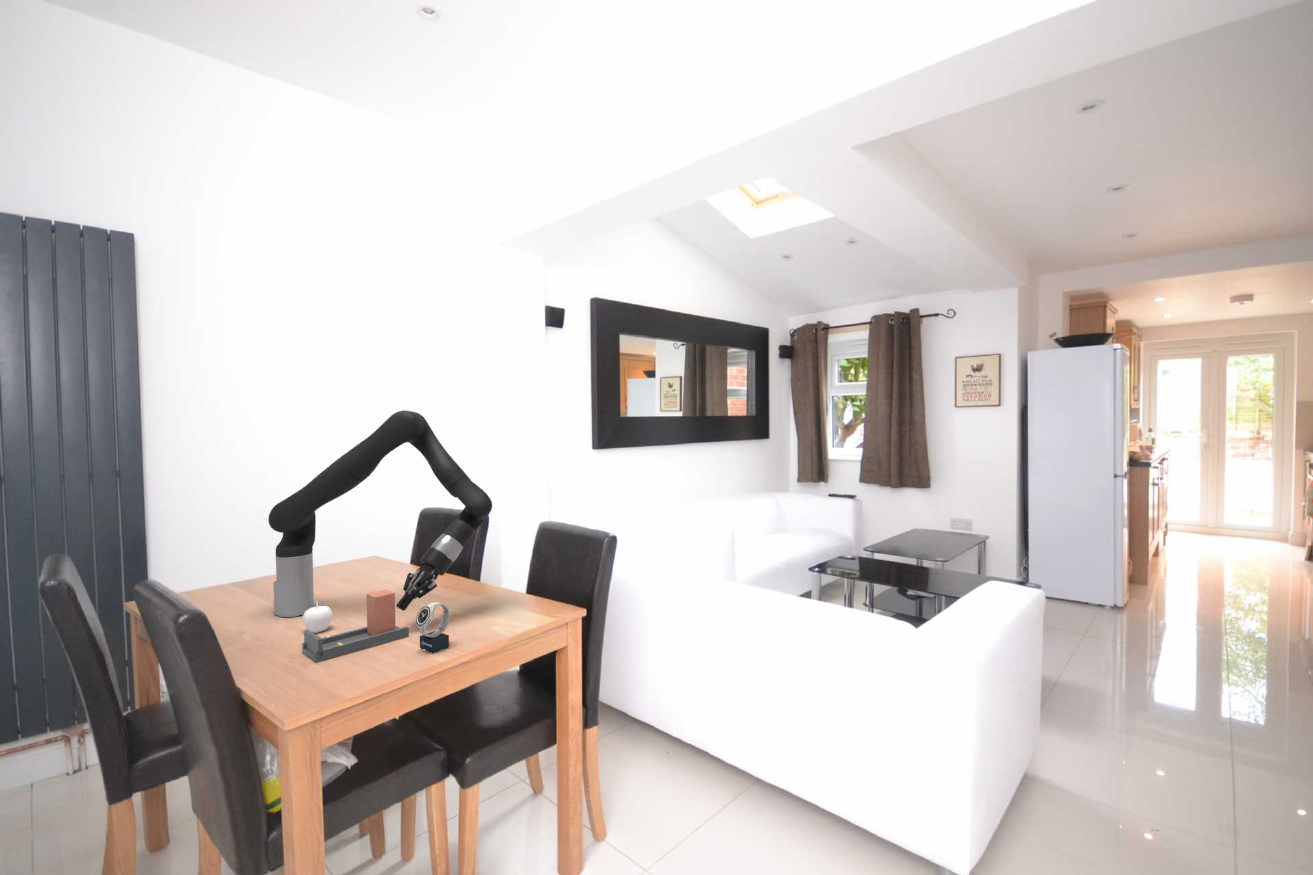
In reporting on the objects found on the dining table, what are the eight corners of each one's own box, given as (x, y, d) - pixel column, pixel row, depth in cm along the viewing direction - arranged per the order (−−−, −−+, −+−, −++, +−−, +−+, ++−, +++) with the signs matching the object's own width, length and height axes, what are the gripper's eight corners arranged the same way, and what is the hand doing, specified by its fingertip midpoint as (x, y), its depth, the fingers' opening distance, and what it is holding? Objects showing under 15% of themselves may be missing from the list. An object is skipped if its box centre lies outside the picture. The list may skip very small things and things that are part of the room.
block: (386, 627, 157) (386, 589, 157) (395, 631, 154) (394, 592, 154) (367, 632, 153) (366, 593, 153) (375, 636, 150) (374, 597, 150)
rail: (392, 628, 160) (392, 609, 160) (409, 636, 154) (408, 616, 154) (301, 652, 144) (301, 631, 144) (316, 662, 138) (315, 640, 138)
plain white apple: (299, 636, 155) (298, 606, 155) (307, 627, 162) (306, 598, 162) (329, 633, 157) (328, 603, 157) (335, 624, 164) (335, 595, 164)
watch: (412, 651, 144) (411, 605, 144) (441, 640, 151) (440, 597, 151) (426, 656, 141) (425, 609, 141) (455, 645, 148) (454, 601, 148)
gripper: (421, 543, 168) (378, 596, 159) (445, 549, 160) (401, 605, 151) (439, 558, 172) (398, 611, 164) (463, 565, 164) (421, 621, 155)
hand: (399, 608), depth 157 cm, fingers closed
